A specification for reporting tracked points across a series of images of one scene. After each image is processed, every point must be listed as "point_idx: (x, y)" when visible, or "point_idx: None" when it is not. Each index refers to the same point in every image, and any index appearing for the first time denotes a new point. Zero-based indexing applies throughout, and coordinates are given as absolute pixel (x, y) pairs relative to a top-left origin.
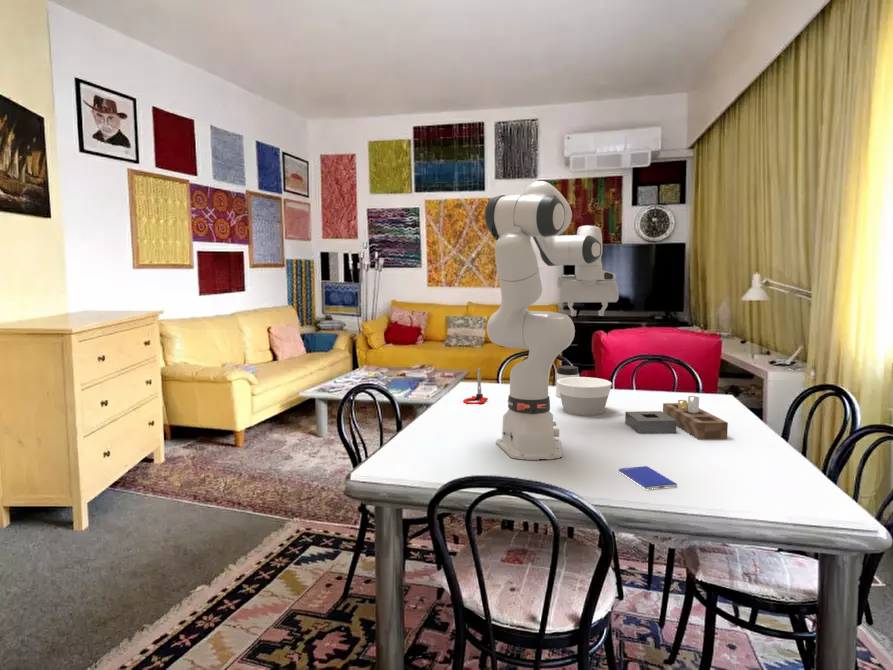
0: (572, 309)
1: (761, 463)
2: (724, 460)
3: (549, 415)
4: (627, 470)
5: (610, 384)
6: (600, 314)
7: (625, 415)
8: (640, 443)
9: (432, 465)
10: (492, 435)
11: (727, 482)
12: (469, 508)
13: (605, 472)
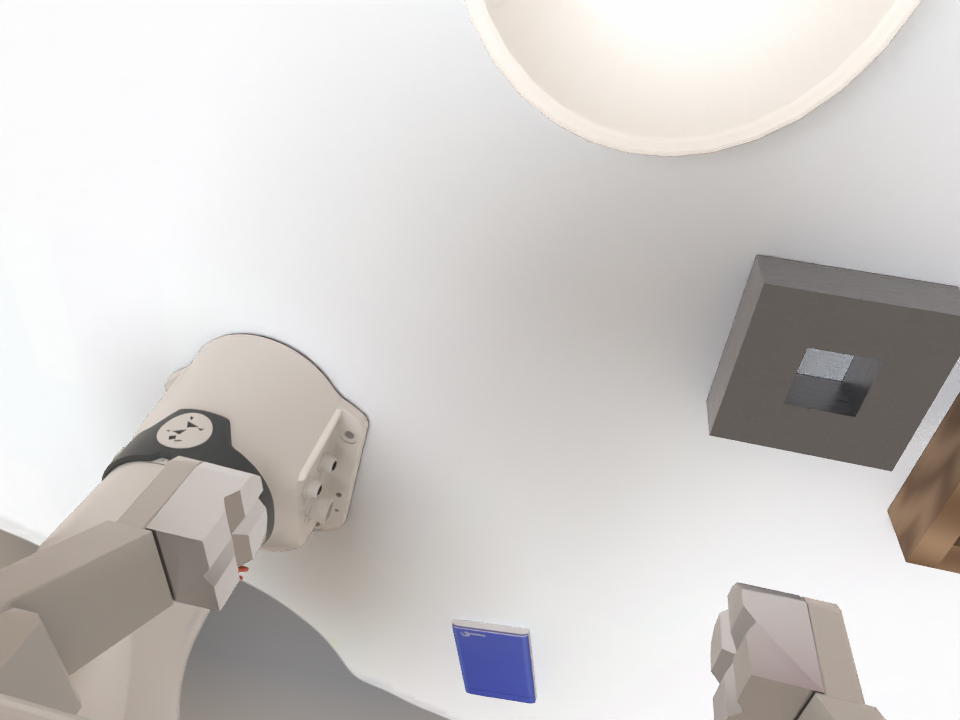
0: (126, 619)
1: (861, 687)
2: None
3: (277, 529)
4: (465, 639)
5: (853, 77)
6: (724, 663)
7: (760, 276)
8: (636, 488)
9: (45, 477)
10: (151, 293)
11: (659, 715)
12: None
13: (423, 611)
